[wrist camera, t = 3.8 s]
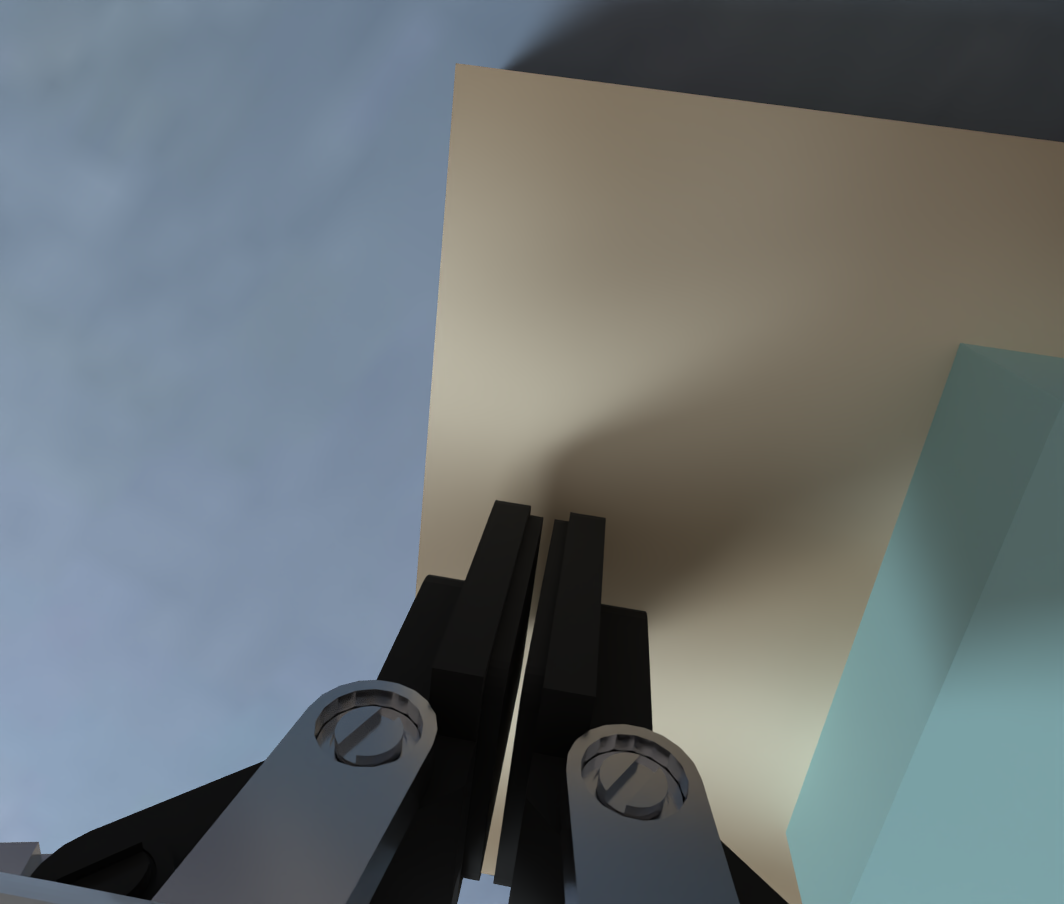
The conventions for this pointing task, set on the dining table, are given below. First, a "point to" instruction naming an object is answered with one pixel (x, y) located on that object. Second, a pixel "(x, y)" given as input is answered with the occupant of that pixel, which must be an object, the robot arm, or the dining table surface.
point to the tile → (955, 668)
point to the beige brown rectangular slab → (718, 377)
